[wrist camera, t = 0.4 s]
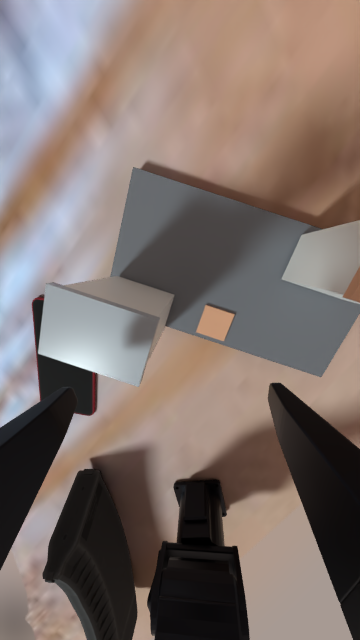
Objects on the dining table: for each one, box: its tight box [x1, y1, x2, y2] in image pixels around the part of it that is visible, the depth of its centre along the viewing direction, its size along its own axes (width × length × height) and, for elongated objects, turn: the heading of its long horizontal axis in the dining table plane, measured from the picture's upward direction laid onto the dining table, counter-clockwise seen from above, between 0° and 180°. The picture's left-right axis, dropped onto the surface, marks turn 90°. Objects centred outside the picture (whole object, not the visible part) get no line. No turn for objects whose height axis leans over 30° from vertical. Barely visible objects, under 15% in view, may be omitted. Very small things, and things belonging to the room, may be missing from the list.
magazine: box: [43, 469, 137, 640], centre depth 29 cm, size 17×3×30 cm
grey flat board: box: [110, 167, 360, 377], centre depth 20 cm, size 13×24×2 cm, turn 73°
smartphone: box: [32, 297, 95, 416], centre depth 25 cm, size 7×1×15 cm
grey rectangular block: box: [38, 276, 174, 387], centre depth 16 cm, size 4×6×10 cm
